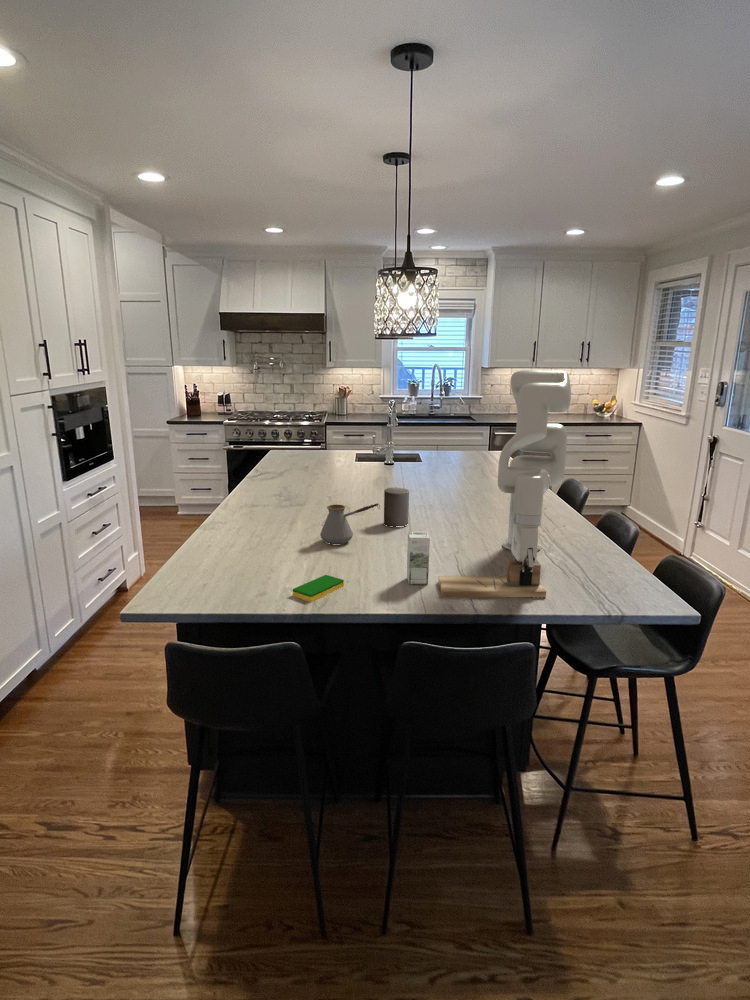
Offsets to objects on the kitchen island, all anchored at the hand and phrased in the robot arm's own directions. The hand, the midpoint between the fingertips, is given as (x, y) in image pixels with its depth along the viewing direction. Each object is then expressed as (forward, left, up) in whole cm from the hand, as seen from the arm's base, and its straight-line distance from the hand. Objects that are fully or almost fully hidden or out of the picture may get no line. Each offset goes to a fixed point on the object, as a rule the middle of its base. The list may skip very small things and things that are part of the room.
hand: (522, 580), depth 161 cm
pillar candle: (-64, -33, -3) cm, 72 cm away
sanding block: (0, 0, -1) cm, 1 cm away
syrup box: (-6, -29, -3) cm, 30 cm away
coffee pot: (-41, -50, -3) cm, 65 cm away
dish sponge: (+1, -57, -3) cm, 57 cm away
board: (0, -9, -3) cm, 9 cm away
